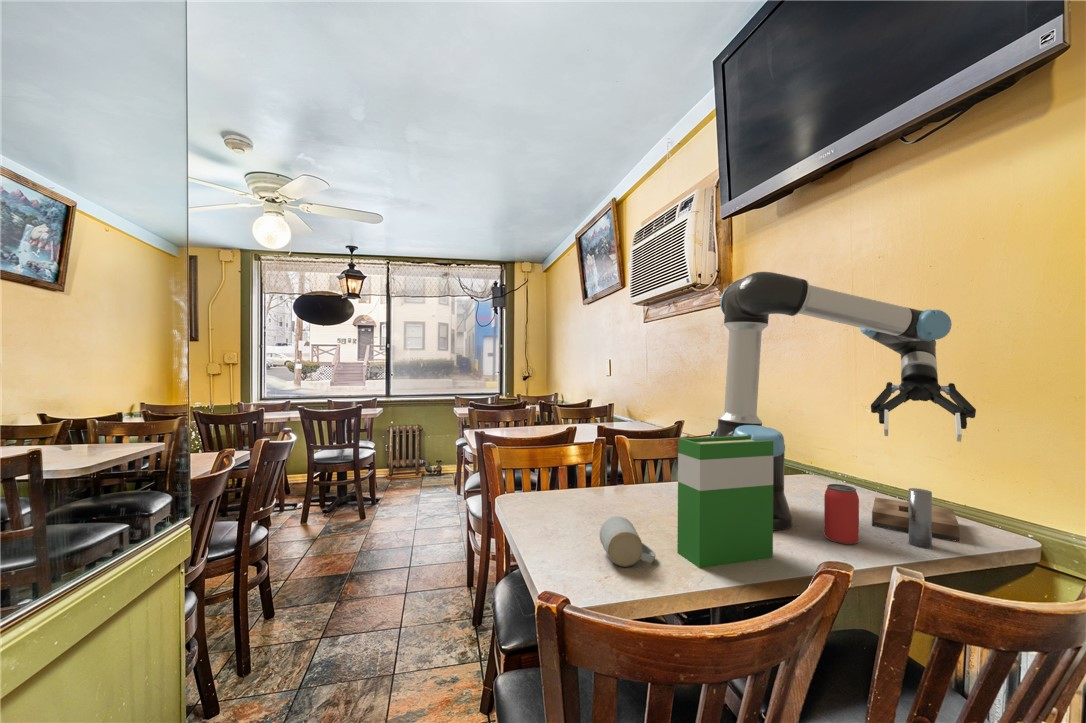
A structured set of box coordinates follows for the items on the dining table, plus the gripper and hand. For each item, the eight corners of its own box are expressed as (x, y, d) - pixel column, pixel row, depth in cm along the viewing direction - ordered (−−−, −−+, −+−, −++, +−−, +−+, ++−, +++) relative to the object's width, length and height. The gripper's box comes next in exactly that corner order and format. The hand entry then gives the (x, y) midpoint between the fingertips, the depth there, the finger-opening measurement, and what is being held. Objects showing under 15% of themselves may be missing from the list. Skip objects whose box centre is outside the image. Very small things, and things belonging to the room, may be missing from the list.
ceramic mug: (607, 569, 87) (608, 529, 87) (598, 552, 95) (599, 515, 95) (661, 569, 88) (662, 529, 88) (647, 551, 96) (648, 515, 96)
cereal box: (746, 544, 100) (747, 435, 100) (772, 557, 93) (773, 441, 93) (677, 553, 95) (678, 438, 95) (699, 568, 88) (700, 444, 88)
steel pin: (908, 545, 100) (908, 490, 101) (908, 539, 104) (908, 487, 104) (932, 549, 98) (932, 494, 98) (931, 544, 101) (931, 490, 101)
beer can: (864, 546, 99) (864, 491, 99) (831, 544, 101) (831, 489, 101) (850, 535, 106) (850, 484, 106) (819, 533, 107) (819, 482, 107)
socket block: (872, 525, 113) (872, 511, 113) (875, 510, 125) (875, 497, 125) (959, 541, 103) (959, 526, 103) (953, 522, 115) (953, 509, 115)
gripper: (981, 383, 116) (991, 450, 104) (862, 381, 132) (859, 439, 120) (984, 362, 112) (995, 429, 100) (861, 362, 127) (857, 421, 116)
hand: (921, 435), depth 110 cm, fingers open, 13 cm apart
